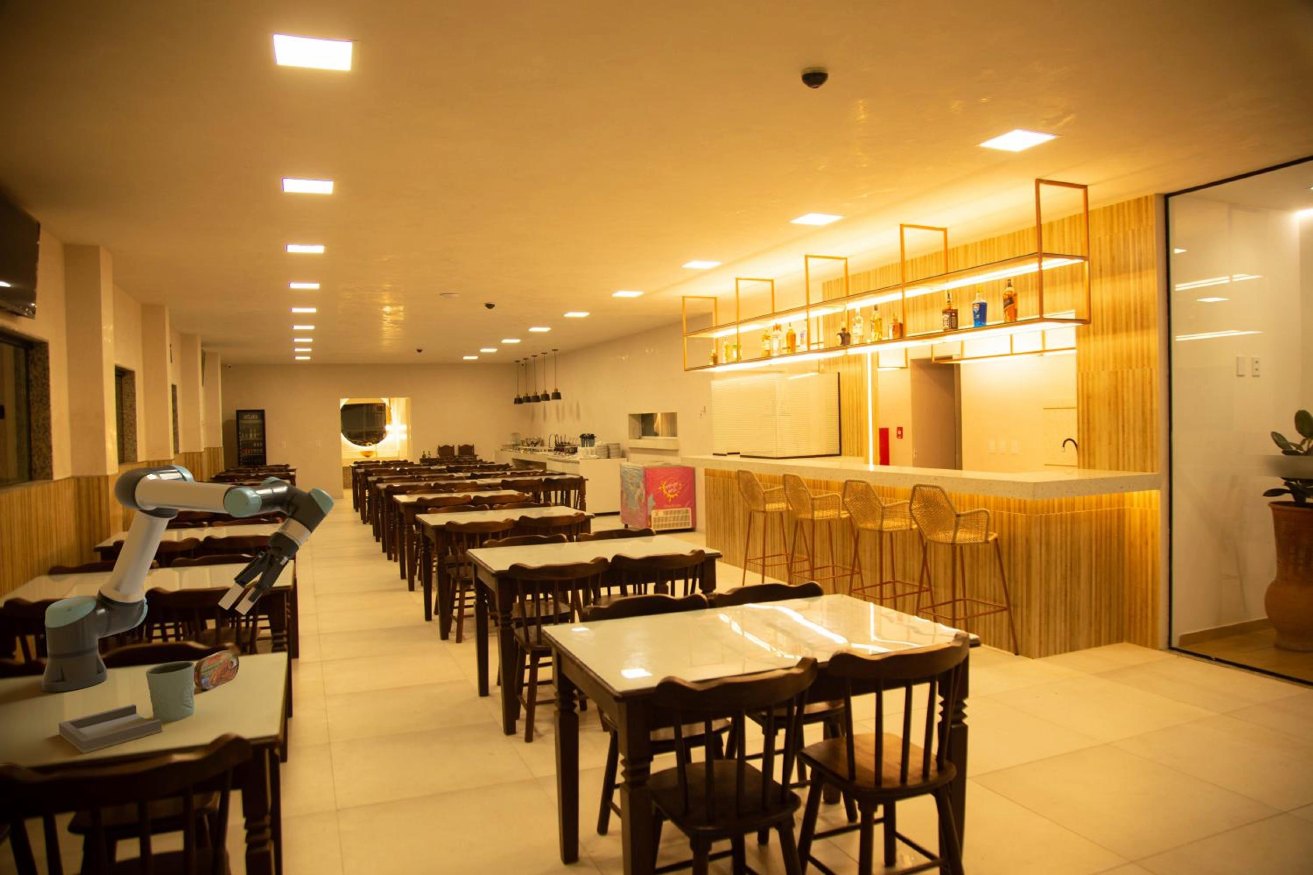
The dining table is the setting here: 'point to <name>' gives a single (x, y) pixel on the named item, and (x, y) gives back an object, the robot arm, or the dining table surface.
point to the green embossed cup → (171, 690)
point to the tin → (216, 669)
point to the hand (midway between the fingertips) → (231, 609)
